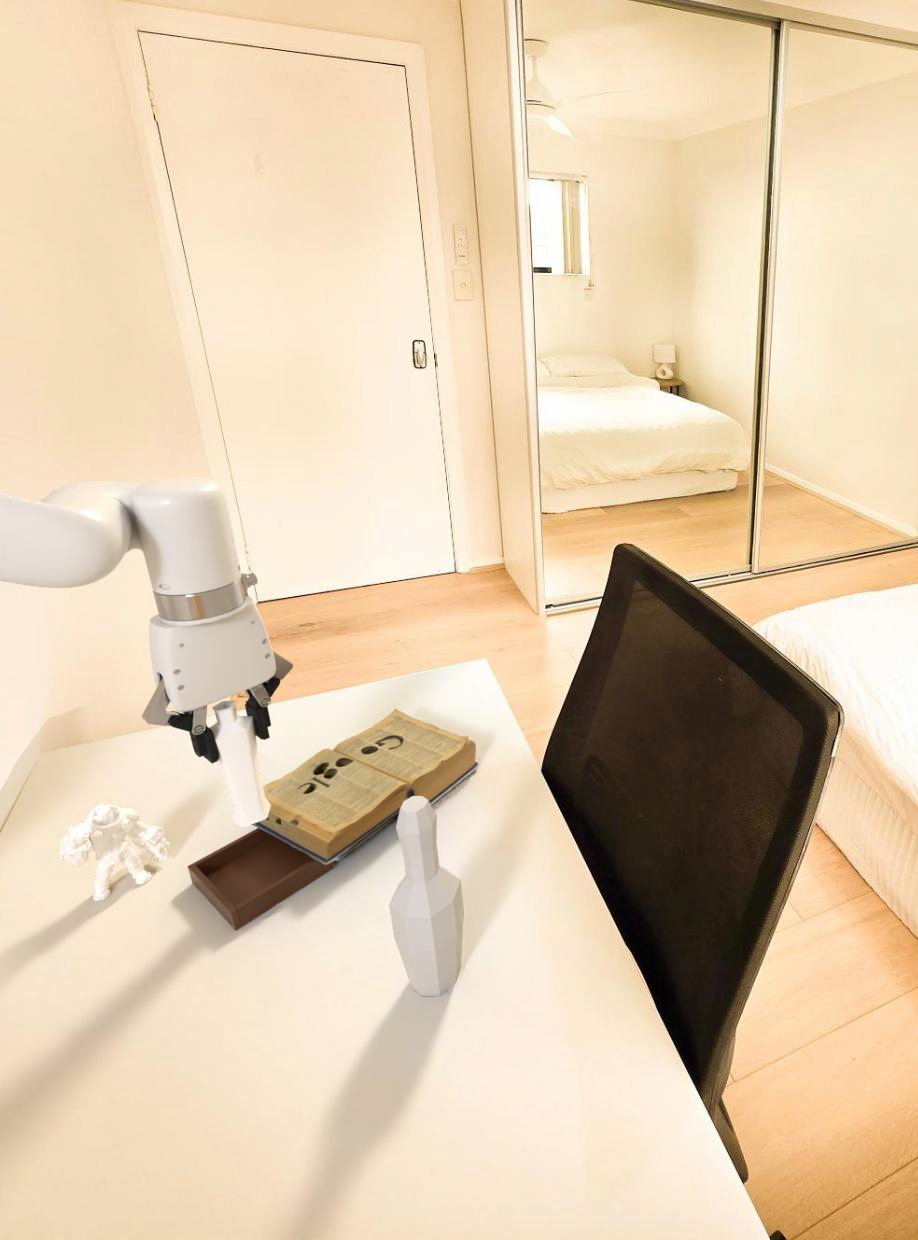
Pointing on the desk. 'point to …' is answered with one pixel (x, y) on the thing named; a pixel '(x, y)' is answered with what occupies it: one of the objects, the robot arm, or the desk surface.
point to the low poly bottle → (426, 904)
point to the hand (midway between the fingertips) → (235, 744)
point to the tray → (253, 875)
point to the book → (364, 785)
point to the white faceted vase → (240, 764)
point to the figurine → (113, 844)
